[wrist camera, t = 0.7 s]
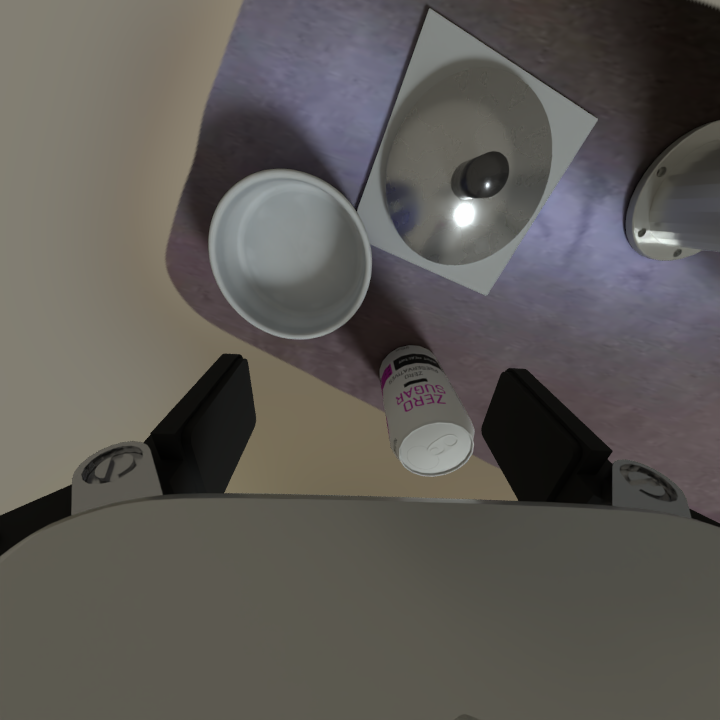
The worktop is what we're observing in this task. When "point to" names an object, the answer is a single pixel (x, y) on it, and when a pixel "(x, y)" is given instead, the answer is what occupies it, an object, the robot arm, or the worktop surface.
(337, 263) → the dog bowl
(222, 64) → the worktop surface
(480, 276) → the mat
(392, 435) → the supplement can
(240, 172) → the worktop surface
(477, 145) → the lid
